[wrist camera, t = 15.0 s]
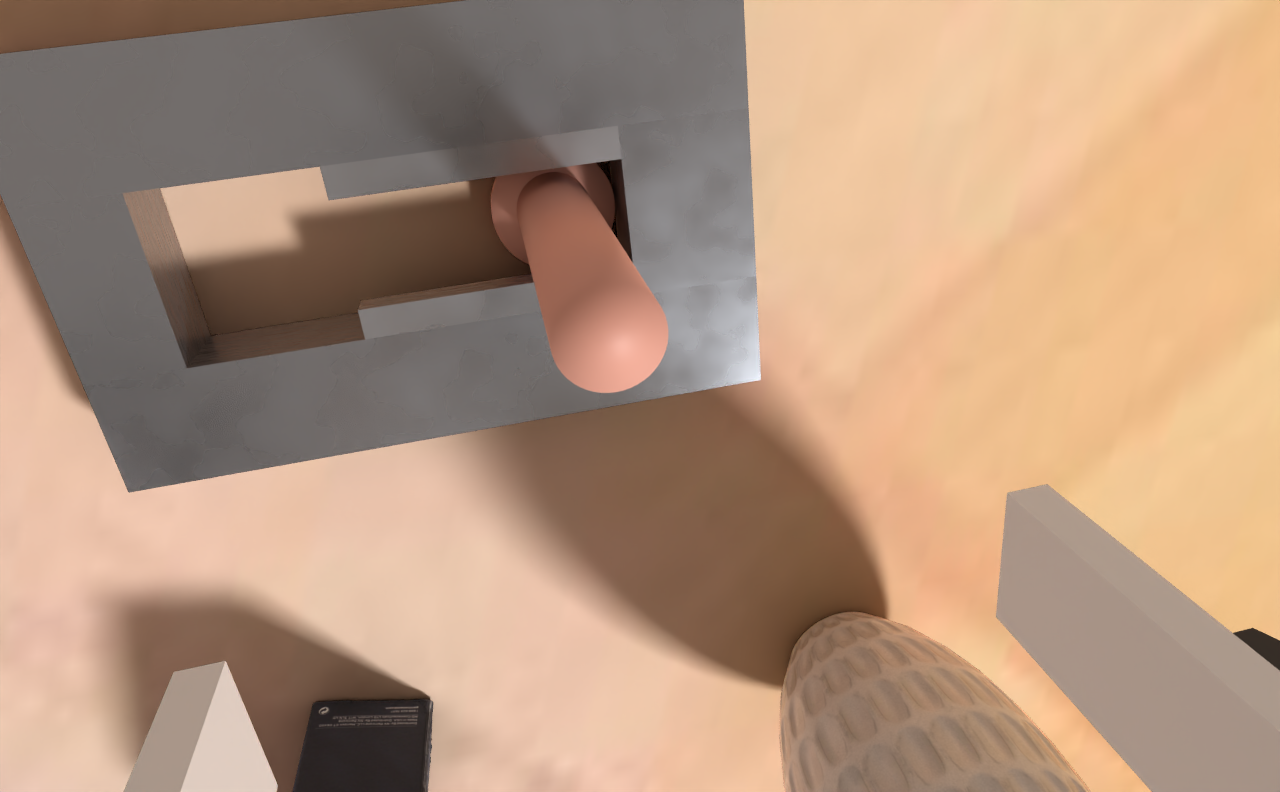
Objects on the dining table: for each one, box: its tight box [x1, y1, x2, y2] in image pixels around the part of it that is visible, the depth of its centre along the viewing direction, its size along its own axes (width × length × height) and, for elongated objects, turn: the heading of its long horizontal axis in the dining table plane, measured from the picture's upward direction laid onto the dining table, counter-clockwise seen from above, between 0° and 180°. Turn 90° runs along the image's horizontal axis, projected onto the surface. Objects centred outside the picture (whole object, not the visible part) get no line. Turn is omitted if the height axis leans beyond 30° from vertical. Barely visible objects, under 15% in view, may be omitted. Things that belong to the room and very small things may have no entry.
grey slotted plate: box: [0, 0, 761, 492], centre depth 33 cm, size 26×16×4 cm, turn 96°
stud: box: [491, 163, 668, 393], centre depth 28 cm, size 5×5×16 cm
